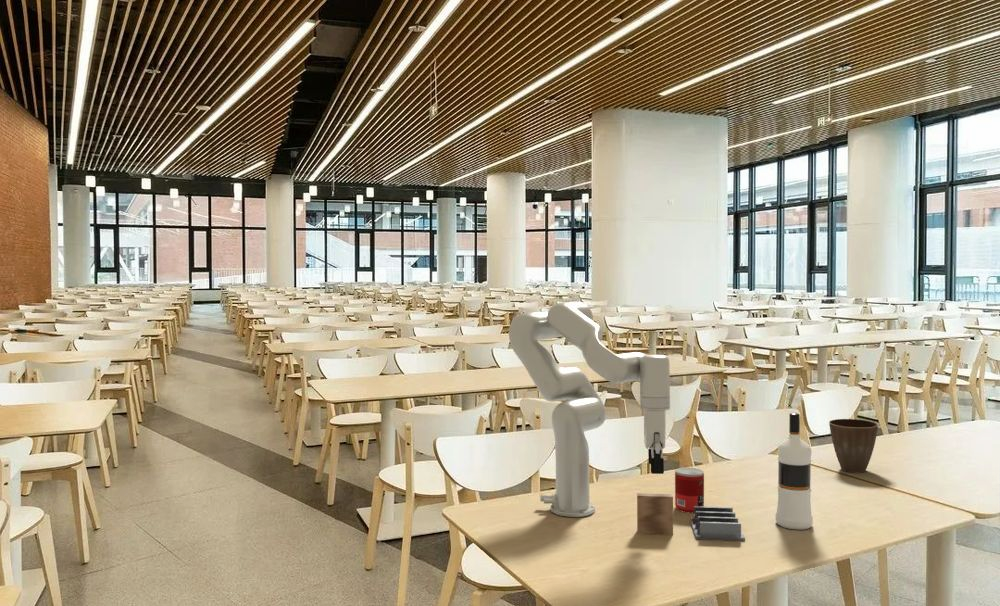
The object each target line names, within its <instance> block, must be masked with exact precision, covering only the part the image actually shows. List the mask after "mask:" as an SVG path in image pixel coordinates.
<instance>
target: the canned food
mask: <svg viewBox="0 0 1000 606" xmlns="http://www.w3.org/2000/svg"><path fill="white" fill-rule="evenodd" d="M674 505H675V508H676V510H677V511H679V512H682V511H683V513H687V512H689V514H694V506H702V507H705V473H704V471H703V469H699V468H695V467H679V468H677V469H675V470H674ZM692 512H693V513H692Z"/></svg>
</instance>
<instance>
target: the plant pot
mask: <svg viewBox="0 0 1000 606" xmlns="http://www.w3.org/2000/svg"><path fill="white" fill-rule="evenodd" d="M828 425H829V430H830V436H831V441H832V443H833V445H832V446H833V448H834V452H835V456H836V458H837V461H838V463H839V466H840V469H841V470H842V471H844V470H845V471H844V472H847V471H849V472H848V473H853V472H861V473H865V472H866V470H867V469H868V466H869V463H870V461H871V458H872V456H873V452H874V448H875V444H876V439H877V435H878V430H879V429H878V428H879V424H878V423H877V422H874V421H870V420H864V419H858V418H857V419H856V418H836V419H832V420H829V422H828Z"/></svg>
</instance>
